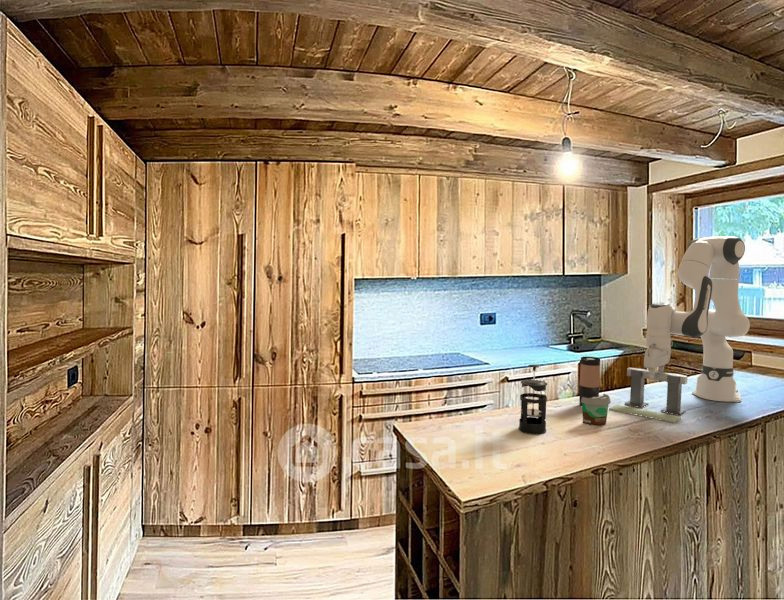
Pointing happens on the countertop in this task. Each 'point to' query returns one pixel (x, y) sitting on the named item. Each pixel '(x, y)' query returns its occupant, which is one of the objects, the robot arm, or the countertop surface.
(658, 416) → the mat
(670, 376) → the posts
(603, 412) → the food container
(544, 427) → the french press
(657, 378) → the rail
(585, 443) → the countertop surface
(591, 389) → the travel mug
